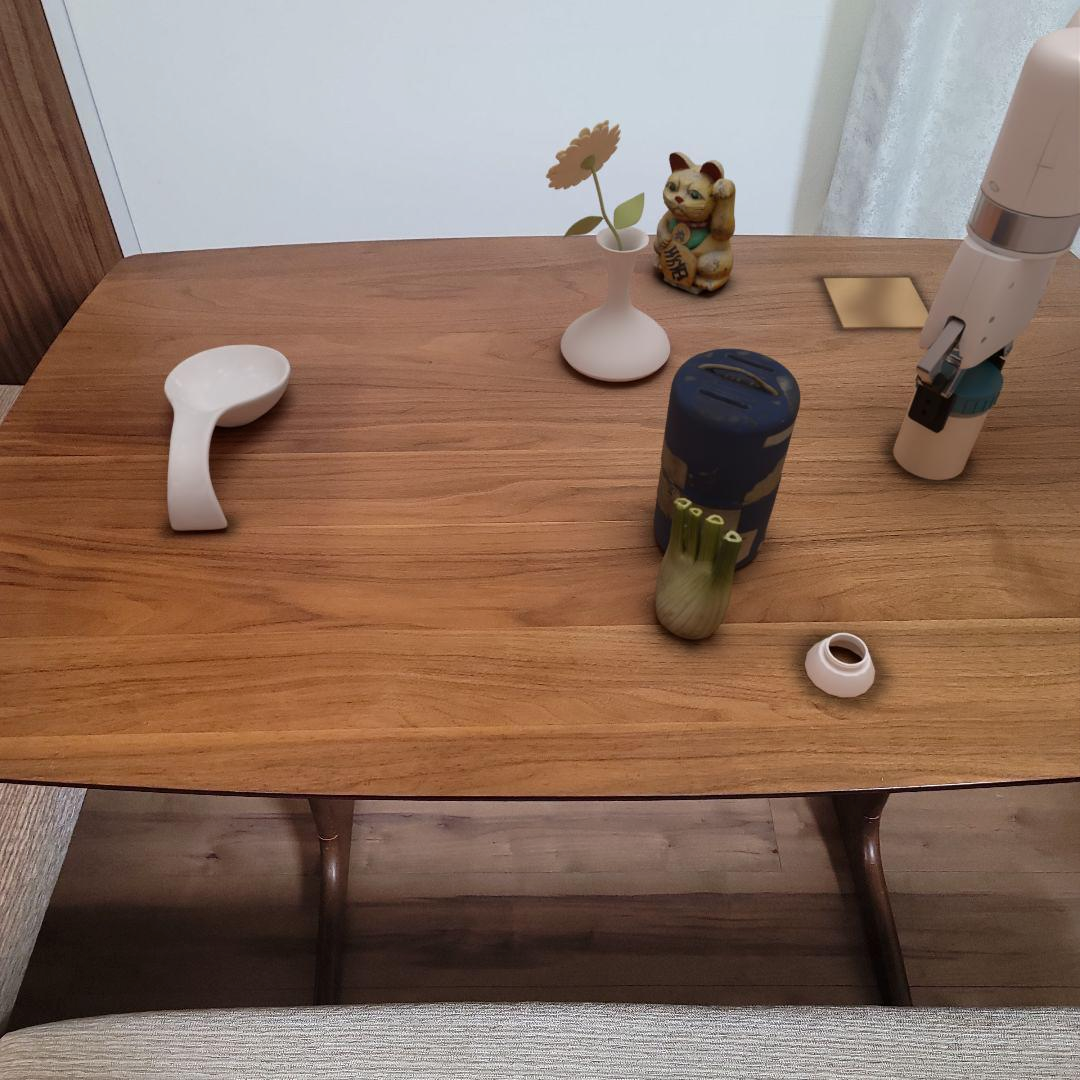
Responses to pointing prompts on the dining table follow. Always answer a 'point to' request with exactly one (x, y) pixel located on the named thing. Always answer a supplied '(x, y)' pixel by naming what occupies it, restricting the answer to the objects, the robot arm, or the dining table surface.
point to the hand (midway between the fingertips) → (949, 405)
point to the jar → (937, 445)
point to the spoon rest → (214, 420)
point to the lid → (974, 387)
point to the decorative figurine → (696, 226)
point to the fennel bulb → (695, 573)
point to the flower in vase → (609, 274)
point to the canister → (727, 442)
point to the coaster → (876, 302)
